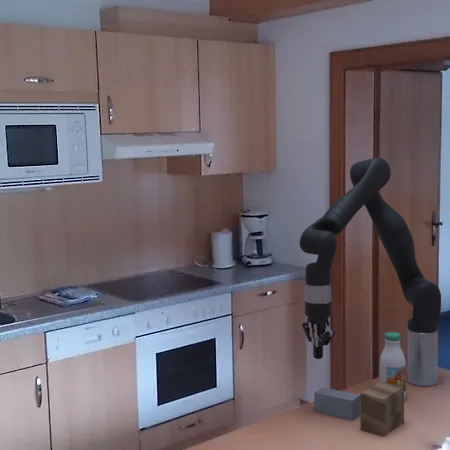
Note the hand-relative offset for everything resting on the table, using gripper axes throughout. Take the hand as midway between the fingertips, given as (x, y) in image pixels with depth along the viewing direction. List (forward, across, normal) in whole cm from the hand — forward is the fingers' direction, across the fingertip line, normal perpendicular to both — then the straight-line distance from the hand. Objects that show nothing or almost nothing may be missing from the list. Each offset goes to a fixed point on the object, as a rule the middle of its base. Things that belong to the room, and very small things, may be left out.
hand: (318, 358), depth 197 cm
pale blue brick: (+16, +5, +3) cm, 17 cm away
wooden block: (+16, +18, +8) cm, 25 cm away
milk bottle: (+16, +5, +24) cm, 29 cm away
